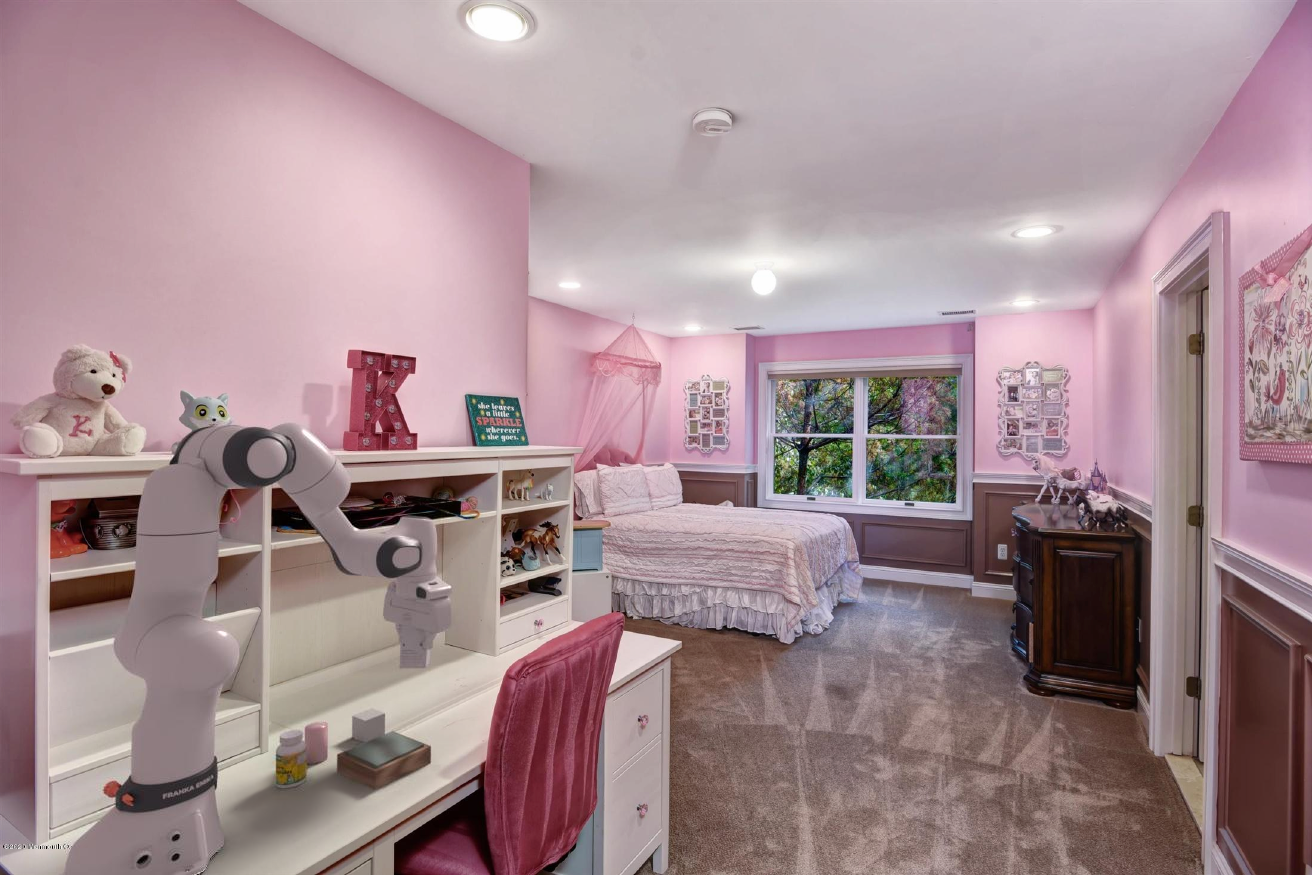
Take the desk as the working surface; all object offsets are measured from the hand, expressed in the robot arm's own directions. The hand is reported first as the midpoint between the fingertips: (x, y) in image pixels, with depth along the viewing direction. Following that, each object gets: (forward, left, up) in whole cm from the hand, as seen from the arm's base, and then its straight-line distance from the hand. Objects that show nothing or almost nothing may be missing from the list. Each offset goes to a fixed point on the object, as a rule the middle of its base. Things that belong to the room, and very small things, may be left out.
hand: (415, 645), depth 151 cm
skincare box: (0, 0, -5) cm, 5 cm away
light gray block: (-6, +9, -21) cm, 24 cm away
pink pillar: (-19, +8, -21) cm, 29 cm away
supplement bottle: (-27, +3, -21) cm, 34 cm away
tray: (-13, -7, -21) cm, 25 cm away
